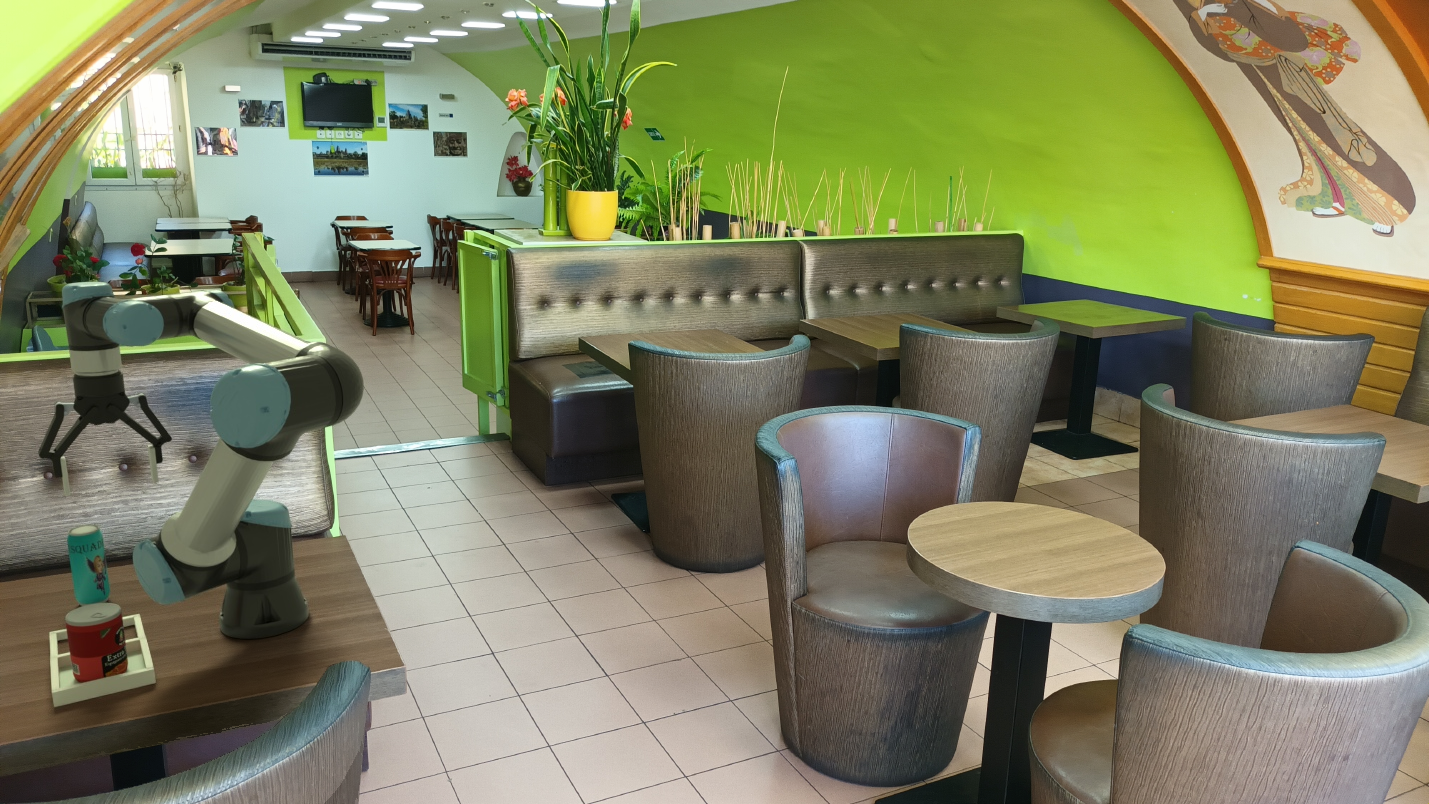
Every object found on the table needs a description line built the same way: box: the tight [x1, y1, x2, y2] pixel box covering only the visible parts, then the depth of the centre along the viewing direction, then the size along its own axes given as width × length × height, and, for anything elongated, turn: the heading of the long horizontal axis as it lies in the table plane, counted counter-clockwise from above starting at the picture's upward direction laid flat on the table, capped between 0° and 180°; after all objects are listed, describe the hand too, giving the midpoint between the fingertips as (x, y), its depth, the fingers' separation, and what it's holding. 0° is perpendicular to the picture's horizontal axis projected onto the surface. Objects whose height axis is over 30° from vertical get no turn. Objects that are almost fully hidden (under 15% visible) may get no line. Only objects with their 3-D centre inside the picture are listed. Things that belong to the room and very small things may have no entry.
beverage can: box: [66, 524, 111, 607], centre depth 191 cm, size 6×6×15 cm
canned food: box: [64, 602, 128, 683], centre depth 163 cm, size 8×8×11 cm
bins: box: [49, 613, 157, 708], centre depth 170 cm, size 27×14×2 cm, turn 34°
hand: (112, 487), depth 178 cm, fingers open, 13 cm apart
